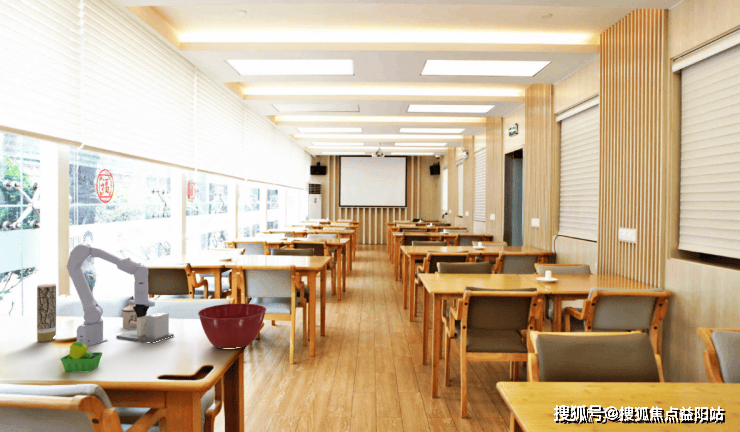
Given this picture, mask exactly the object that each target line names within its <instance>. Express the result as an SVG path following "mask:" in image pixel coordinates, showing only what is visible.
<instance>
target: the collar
mask: <svg viewBox="0 0 740 432" xmlns="http://www.w3.org/2000/svg"><path fill="white" fill-rule="evenodd" d="M149 315H150V314H147V315H146V316H149ZM146 316H143V317H139V318H137V327H136V330H137V336H142V335H146V327H145V323H146Z"/></svg>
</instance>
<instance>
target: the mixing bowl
mask: <svg viewBox="0 0 740 432" xmlns="http://www.w3.org/2000/svg"><path fill="white" fill-rule="evenodd" d="M266 312H267V308H266V307H265V306H263V305H260V304H254V303H242V302H241V303H223V304H218V305H217V304H215V305H212V306H207V307H204V308H202V309H201V310H199V311H198V312H197V315H198V317H199V321H200V323H201V327H202V330H203V332H204V335H205V336H206V338H207V339H208V341H209V343H210V344H211V345H212V346H214V347H216V348H217V347H219V348H236V347H243V348H246V347H248V346H249V345H250V344H251V343H253V341H255V340H256V338H257V336H258V335H259V332H260V330H261V327H262V325H263V321H264V318H265V315H266ZM245 346H246V347H245ZM219 348H218V349H219Z"/></svg>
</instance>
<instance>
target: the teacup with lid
mask: <svg viewBox="0 0 740 432" xmlns="http://www.w3.org/2000/svg"><path fill="white" fill-rule="evenodd" d="M134 306H136V305H133V304H130V305H129V304H128V306H126V307H124V308H122V328H124V329H125V328H126V329H133V328H137V326H133V325H130V324H129V323H130V322H131V321H133V322H137V314H136V312H135V310H134V309H133V307H134ZM146 315H148V311H147V312H146ZM146 315H145V316H146Z"/></svg>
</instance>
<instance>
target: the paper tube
mask: <svg viewBox="0 0 740 432" xmlns="http://www.w3.org/2000/svg"><path fill="white" fill-rule="evenodd" d="M36 289H37V291H36V306H37V307H36V315H37V316H36V333H37V334H36V341H37V342H38V343H44V342H45V343H47V342H52V341H54V340H53V337H54V336H55V335H56V336H57V284H56V283H43V284H42V283H41V284H37V287H36Z"/></svg>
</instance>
